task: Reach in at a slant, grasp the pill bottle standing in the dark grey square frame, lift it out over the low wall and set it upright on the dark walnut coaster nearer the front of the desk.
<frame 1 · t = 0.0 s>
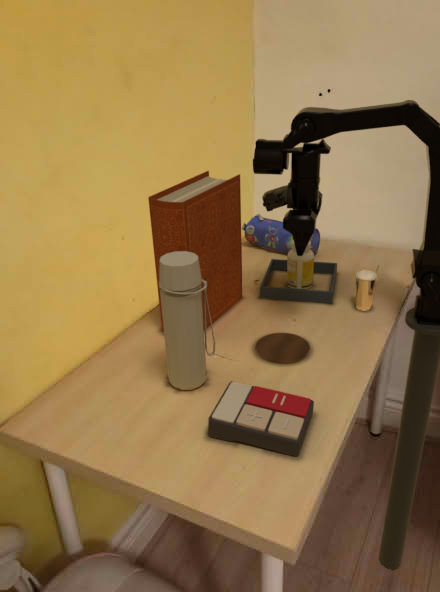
hand: (302, 247, 116), 16 cm above the table, tool pointing down, fingers open, 9 cm apart
coaster: (282, 348, 110), on the table
pencil case: (280, 251, 156), on the table
book: (203, 315, 124), on the table
milkshake: (364, 307, 124), on the table
dark grey square frame: (299, 285, 136), on the table
water bottle: (192, 380, 102), on the table
button control box: (261, 426, 90), on the table
pill bottle: (299, 286, 136), resting in dark grey square frame
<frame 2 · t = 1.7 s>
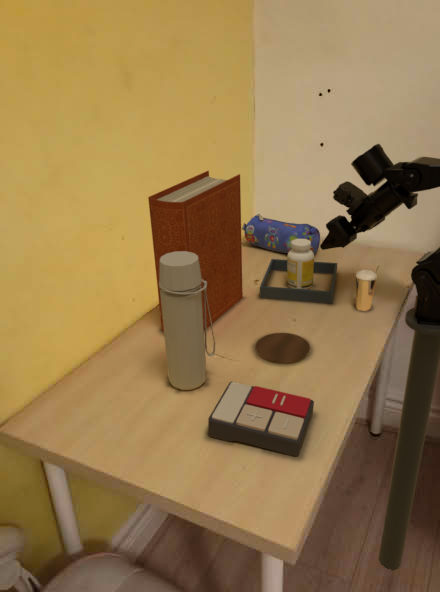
hand: (331, 241, 125), 13 cm above the table, tool tilted 45°, fingers open, 9 cm apart
nothing on the table moved.
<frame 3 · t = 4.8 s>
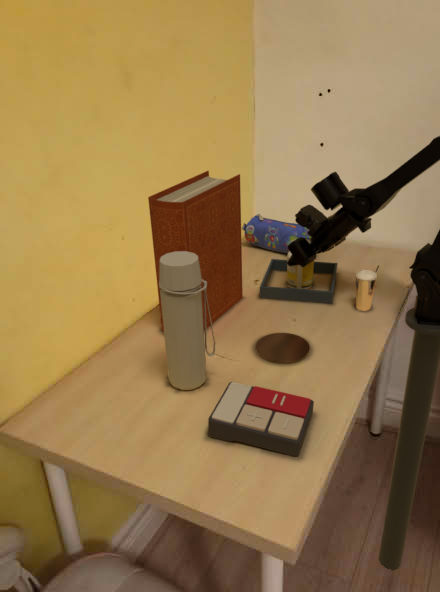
hand: (295, 259, 133), 7 cm above the table, tool tilted 45°, fingers closed on pill bottle, 6 cm apart
pill bottle: (299, 285, 136), resting in dark grey square frame, touching gripper
everything else where it was.
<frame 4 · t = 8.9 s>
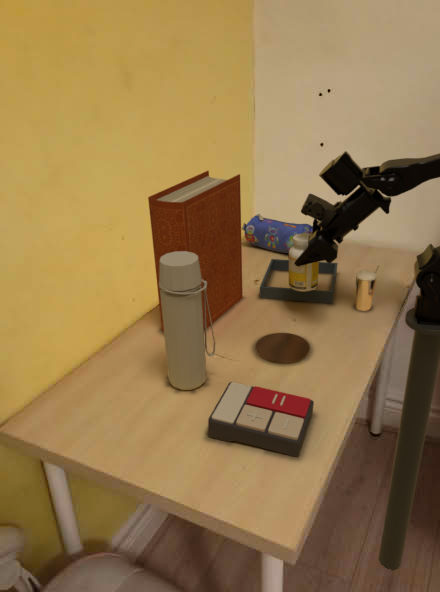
hand: (297, 258, 117), 13 cm above the table, tool tilted 45°, fingers closed on pill bottle, 6 cm apart
pill bottle: (303, 287, 120), point 6 cm above the table, touching gripper
everything else where it was.
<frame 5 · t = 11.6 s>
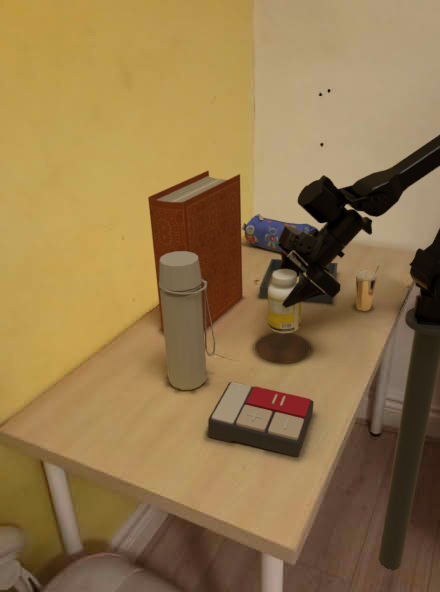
hand: (277, 298, 104), 12 cm above the table, tool tilted 45°, fingers closed on pill bottle, 6 cm apart
pill bottle: (284, 327, 108), point 5 cm above the table, touching gripper
everything else where it was.
when the fingers open (7 cm above the table, at t = 13.4 s): pill bottle stays where it is, resting on coaster.
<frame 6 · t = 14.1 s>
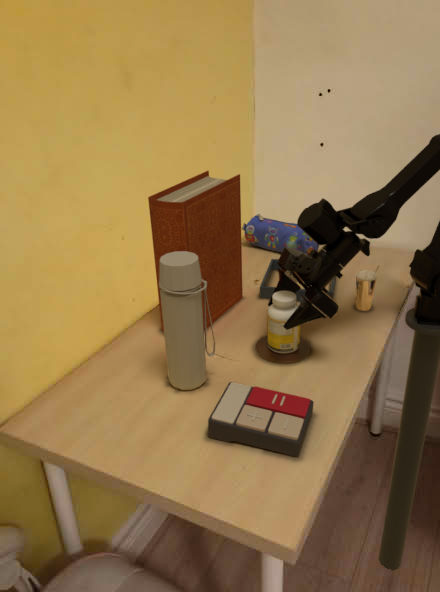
hand: (277, 317, 106), 8 cm above the table, tool tilted 45°, fingers open, 9 cm apart
pill bottle: (283, 347, 110), resting on coaster
everything else where it was.
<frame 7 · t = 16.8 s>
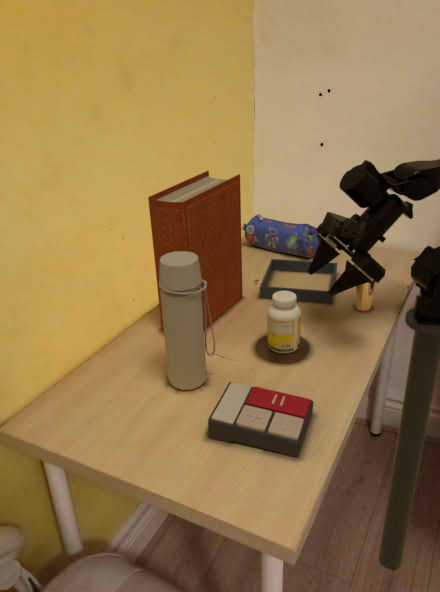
hand: (318, 283, 105), 14 cm above the table, tool tilted 45°, fingers open, 9 cm apart
nothing on the table moved.
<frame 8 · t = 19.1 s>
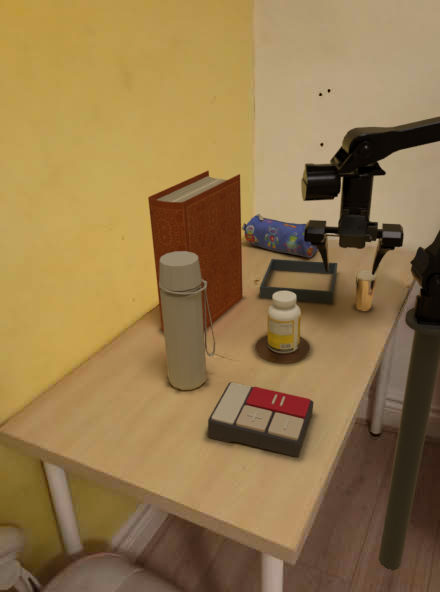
hand: (349, 272, 111), 13 cm above the table, tool pointing down, fingers open, 9 cm apart
nothing on the table moved.
at the end: pill bottle 0.1 cm off-centre on the coaster, point 0.3 cm above the coaster's base; pill bottle tilted 0°; the gripper is holding nothing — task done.
